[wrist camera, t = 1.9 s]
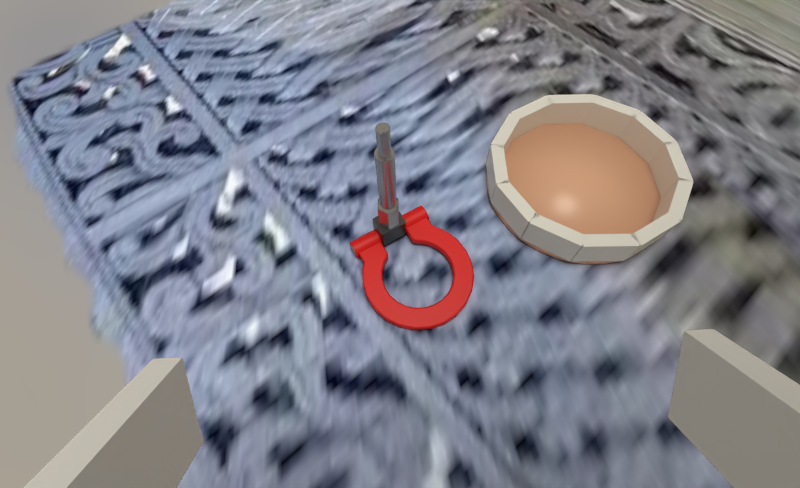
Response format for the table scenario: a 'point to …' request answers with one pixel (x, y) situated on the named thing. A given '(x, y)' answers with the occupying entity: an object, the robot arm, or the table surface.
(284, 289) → the table surface
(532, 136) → the round tray
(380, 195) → the tow hook
